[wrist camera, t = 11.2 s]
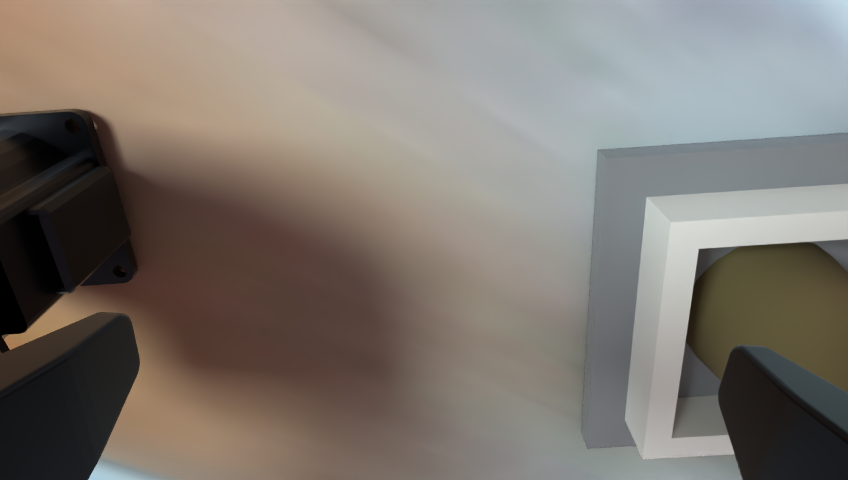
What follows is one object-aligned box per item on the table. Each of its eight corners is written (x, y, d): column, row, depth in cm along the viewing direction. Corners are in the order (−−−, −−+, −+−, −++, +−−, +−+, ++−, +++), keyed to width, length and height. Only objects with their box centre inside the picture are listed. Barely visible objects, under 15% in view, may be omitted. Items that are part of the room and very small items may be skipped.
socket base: (581, 432, 27) (601, 489, 24) (597, 149, 21) (626, 180, 18) (876, 414, 26) (933, 470, 23) (972, 124, 21) (1062, 151, 18)
